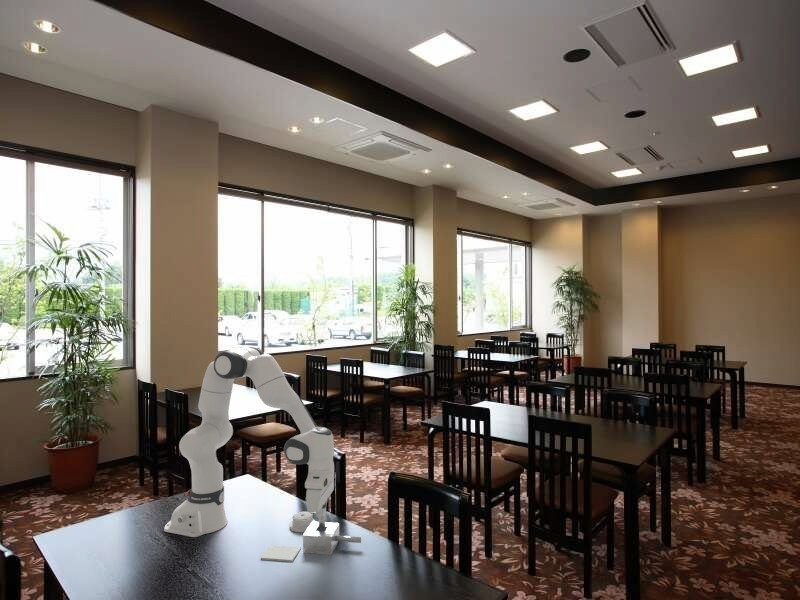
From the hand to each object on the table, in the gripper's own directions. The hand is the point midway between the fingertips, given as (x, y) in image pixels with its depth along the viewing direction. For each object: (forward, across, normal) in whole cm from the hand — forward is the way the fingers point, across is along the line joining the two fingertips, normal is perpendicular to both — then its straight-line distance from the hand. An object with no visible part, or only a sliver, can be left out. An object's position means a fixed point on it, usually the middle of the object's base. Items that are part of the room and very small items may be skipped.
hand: (321, 514), depth 165 cm
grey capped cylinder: (+5, 0, 0) cm, 5 cm away
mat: (+11, +7, -12) cm, 18 cm away
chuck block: (+11, 0, +5) cm, 12 cm away
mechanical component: (+12, -13, -12) cm, 21 cm away
